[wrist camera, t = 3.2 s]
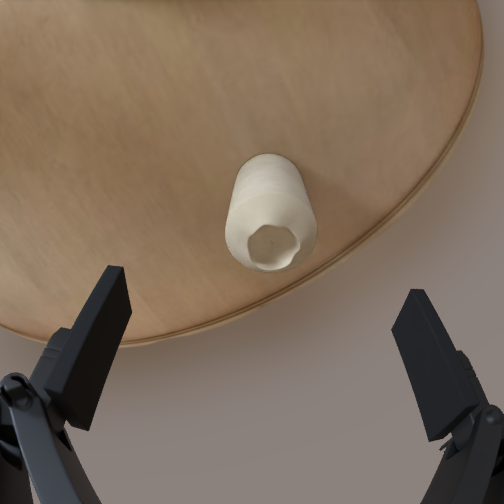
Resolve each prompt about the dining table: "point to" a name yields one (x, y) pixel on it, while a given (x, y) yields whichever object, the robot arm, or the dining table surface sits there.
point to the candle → (270, 216)
